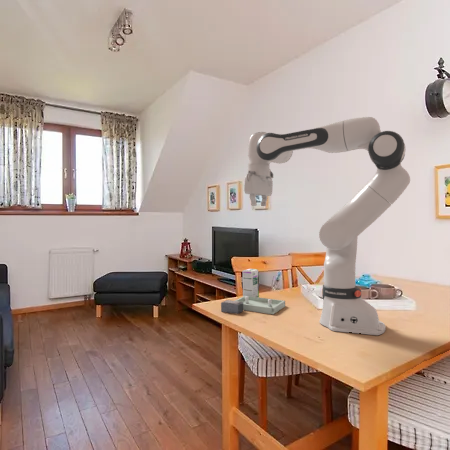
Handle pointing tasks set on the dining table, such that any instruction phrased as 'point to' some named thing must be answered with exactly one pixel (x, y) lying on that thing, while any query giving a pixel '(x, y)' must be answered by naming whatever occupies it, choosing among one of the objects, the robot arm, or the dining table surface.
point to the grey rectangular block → (232, 307)
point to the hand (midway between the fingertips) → (258, 206)
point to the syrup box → (250, 283)
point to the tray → (261, 304)
